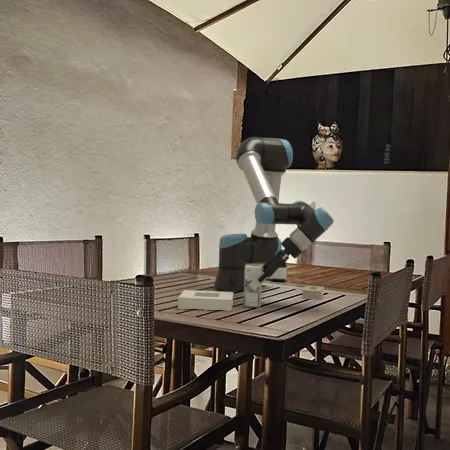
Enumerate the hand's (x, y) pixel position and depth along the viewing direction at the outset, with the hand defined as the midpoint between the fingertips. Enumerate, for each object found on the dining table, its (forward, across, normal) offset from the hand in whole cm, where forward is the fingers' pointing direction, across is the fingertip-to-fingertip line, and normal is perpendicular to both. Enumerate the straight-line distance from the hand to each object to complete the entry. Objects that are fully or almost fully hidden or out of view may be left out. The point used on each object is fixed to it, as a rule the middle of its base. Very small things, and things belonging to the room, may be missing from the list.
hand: (251, 284), depth 193 cm
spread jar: (-2, +70, -14) cm, 72 cm away
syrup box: (+5, 0, -6) cm, 8 cm away
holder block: (+16, -3, +6) cm, 17 cm away
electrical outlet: (-12, +29, -24) cm, 40 cm away
